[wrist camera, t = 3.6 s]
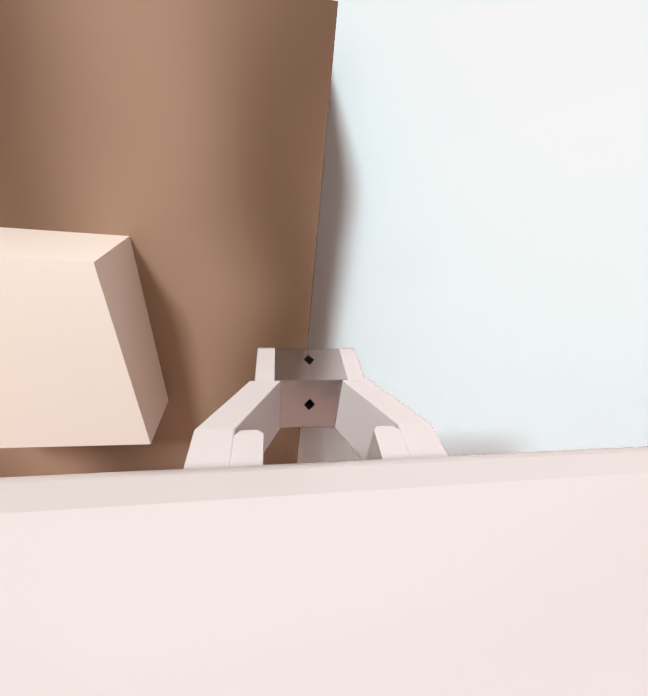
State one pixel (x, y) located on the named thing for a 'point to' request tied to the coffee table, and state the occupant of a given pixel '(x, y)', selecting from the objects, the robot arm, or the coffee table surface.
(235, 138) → the board
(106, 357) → the tile
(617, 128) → the coffee table surface
